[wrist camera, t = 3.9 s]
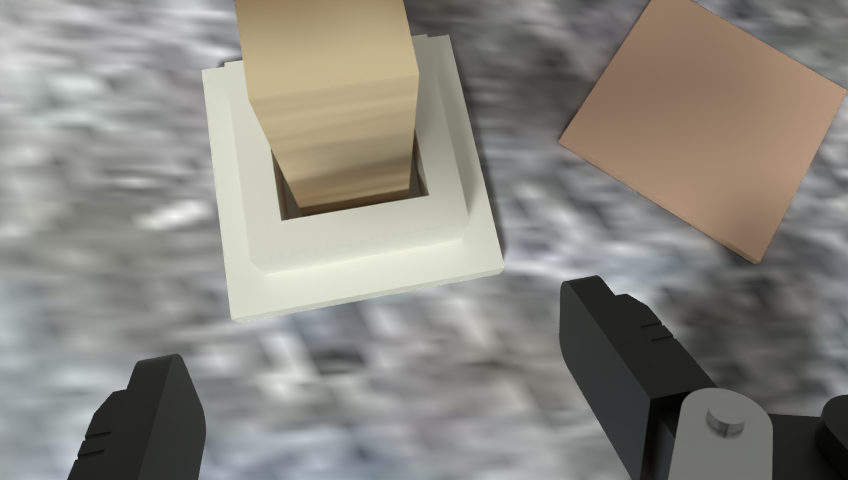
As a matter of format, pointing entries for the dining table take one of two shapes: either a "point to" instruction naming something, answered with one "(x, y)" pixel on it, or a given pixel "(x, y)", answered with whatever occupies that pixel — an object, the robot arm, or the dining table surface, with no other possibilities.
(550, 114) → the dining table surface
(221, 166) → the socket stand
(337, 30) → the oak bar
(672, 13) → the terracotta mat
